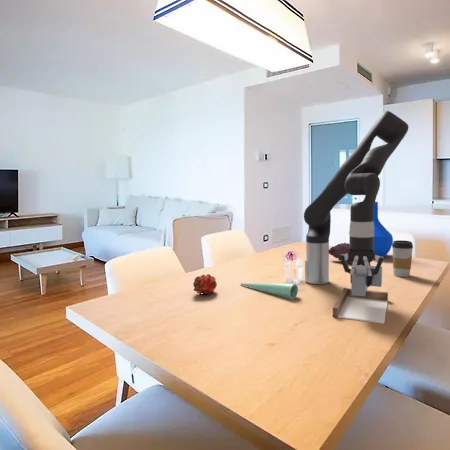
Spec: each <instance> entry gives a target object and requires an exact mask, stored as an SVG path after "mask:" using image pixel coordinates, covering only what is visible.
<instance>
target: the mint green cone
mask: <svg viewBox="0 0 450 450" xmlns="http://www.w3.org/2000/svg"><path fill="white" fill-rule="evenodd" d="M240 284H241V285H244V286H247V287H251V288H254V289H253V290H255V289H257V290H256V291H259V290H261V291H260V292H262V291H264V292H263V293H266V292H267V294H270V293H271V294H270V295H274V294H275V295H274V296H278V297H282V298H286V299H289V300H293V299H295V298H297V296H298V293H299V288H298V285H297V284H296V283H285V282H284V283H280V282H278V283H276V282H275V283H272V282H240ZM241 285H240V286H241ZM244 286H243V287H244ZM247 287H246V288H247ZM251 288H250V289H251Z"/></svg>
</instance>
